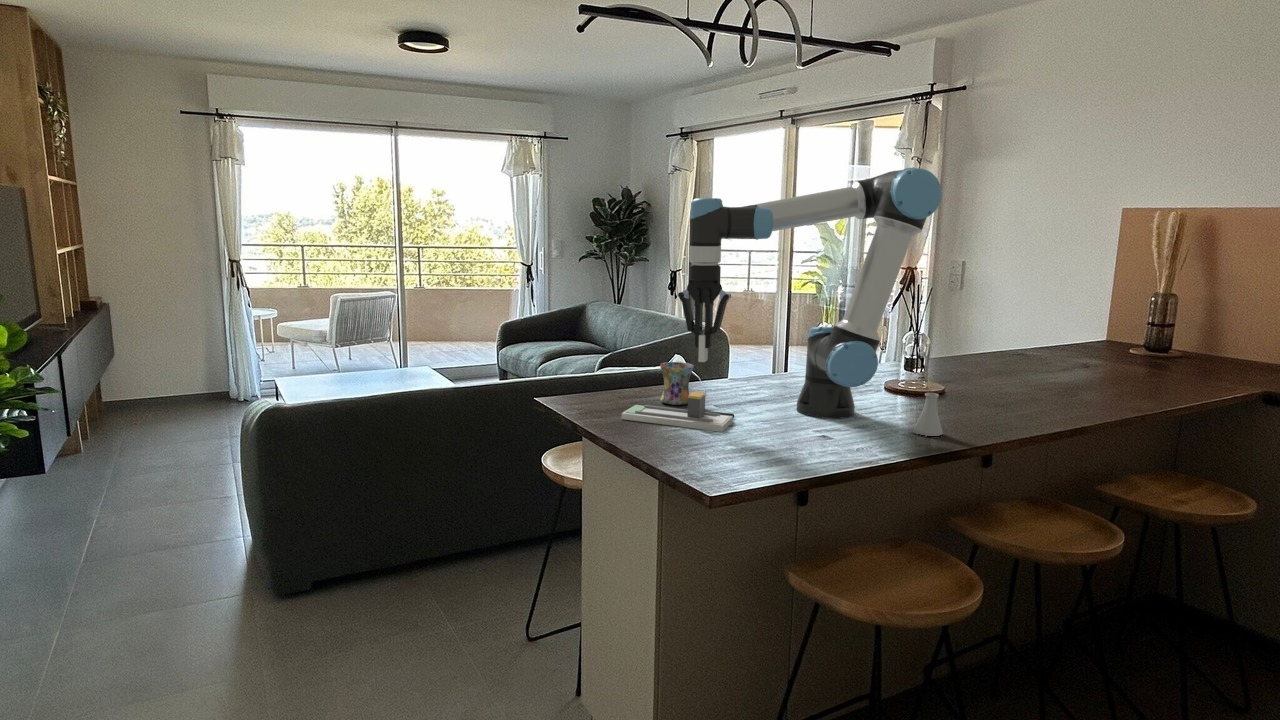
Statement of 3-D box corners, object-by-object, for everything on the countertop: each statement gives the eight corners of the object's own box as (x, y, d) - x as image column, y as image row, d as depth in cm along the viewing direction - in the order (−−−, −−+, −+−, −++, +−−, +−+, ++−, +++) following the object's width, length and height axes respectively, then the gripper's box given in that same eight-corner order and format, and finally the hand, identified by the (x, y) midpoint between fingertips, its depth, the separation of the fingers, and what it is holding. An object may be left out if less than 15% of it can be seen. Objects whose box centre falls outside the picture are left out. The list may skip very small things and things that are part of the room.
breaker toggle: (704, 414, 192) (705, 392, 191) (699, 419, 188) (700, 396, 187) (693, 413, 193) (694, 391, 192) (687, 417, 189) (688, 395, 188)
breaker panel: (732, 422, 193) (732, 413, 192) (722, 431, 184) (722, 423, 183) (635, 410, 202) (635, 402, 201) (621, 419, 192) (621, 410, 192)
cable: (734, 418, 197) (734, 413, 197) (733, 419, 196) (734, 414, 195) (647, 409, 203) (647, 404, 203) (646, 410, 202) (646, 405, 202)
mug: (697, 406, 208) (699, 367, 206) (664, 407, 206) (666, 368, 204) (682, 396, 219) (684, 359, 218) (651, 397, 217) (652, 360, 215)
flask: (940, 440, 182) (944, 399, 181) (909, 434, 186) (912, 394, 184) (946, 433, 188) (950, 393, 187) (915, 428, 192) (919, 389, 190)
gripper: (735, 263, 185) (732, 360, 189) (684, 262, 190) (682, 356, 194) (727, 265, 178) (724, 365, 182) (674, 264, 183) (672, 361, 187)
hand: (702, 360), depth 188 cm, fingers closed
